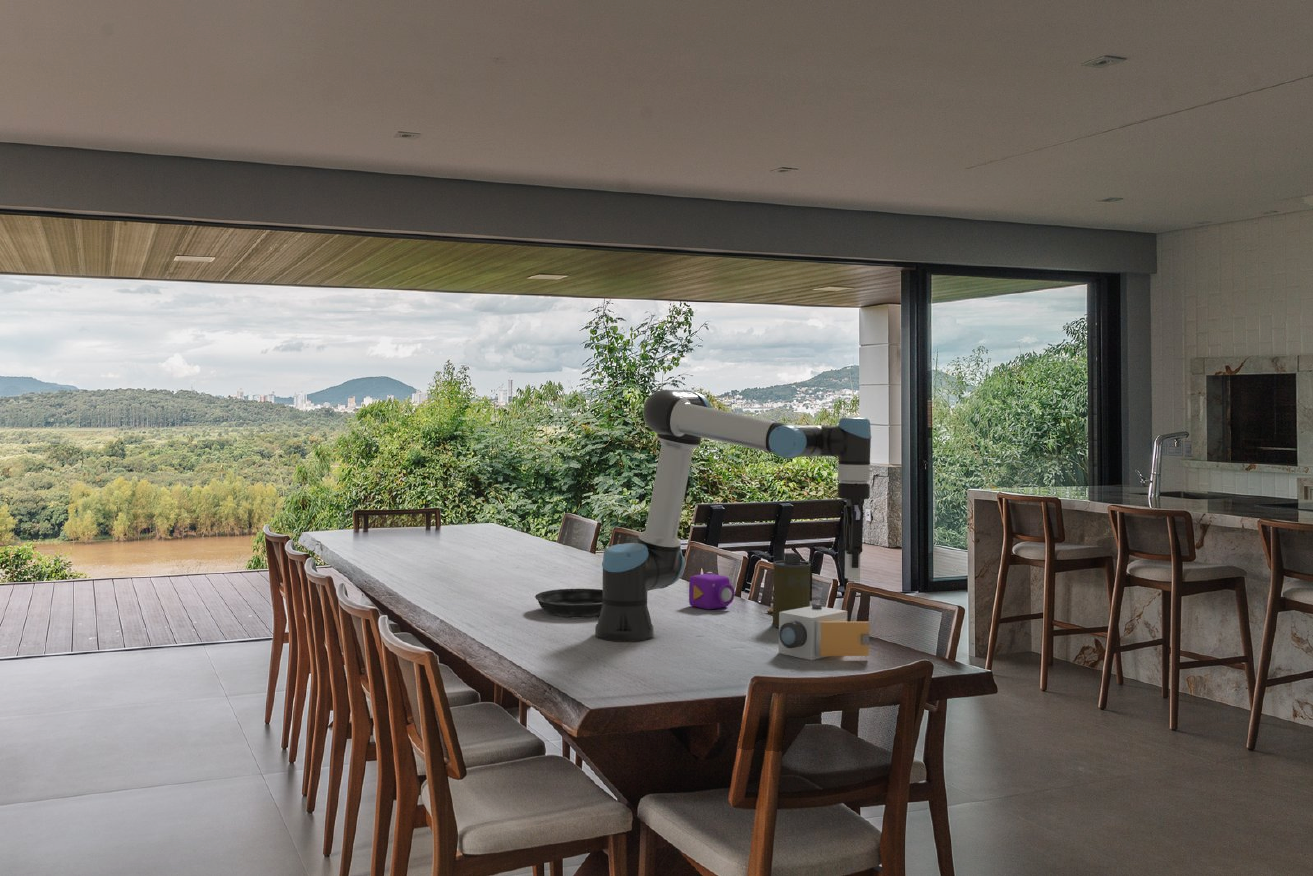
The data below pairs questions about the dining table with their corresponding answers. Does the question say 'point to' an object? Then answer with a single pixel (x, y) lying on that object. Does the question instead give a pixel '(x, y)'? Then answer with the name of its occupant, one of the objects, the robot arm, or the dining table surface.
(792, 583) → the canister
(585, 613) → the frying pan
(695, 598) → the toy camera
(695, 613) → the dining table surface
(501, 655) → the dining table surface
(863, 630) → the battery door
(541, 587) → the dining table surface
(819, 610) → the camera body
